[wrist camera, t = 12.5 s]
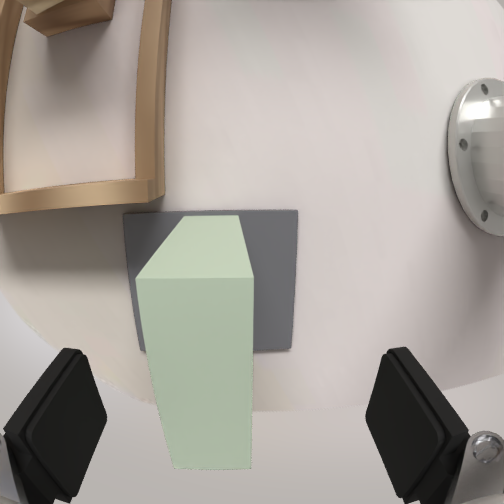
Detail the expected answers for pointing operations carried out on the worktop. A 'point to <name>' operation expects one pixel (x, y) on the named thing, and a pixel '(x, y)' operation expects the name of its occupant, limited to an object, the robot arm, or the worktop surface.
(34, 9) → the offcut upper
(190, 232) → the pale green rectangular block
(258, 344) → the mat
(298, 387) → the worktop surface
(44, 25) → the offcut lower
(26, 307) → the worktop surface
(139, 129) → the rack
